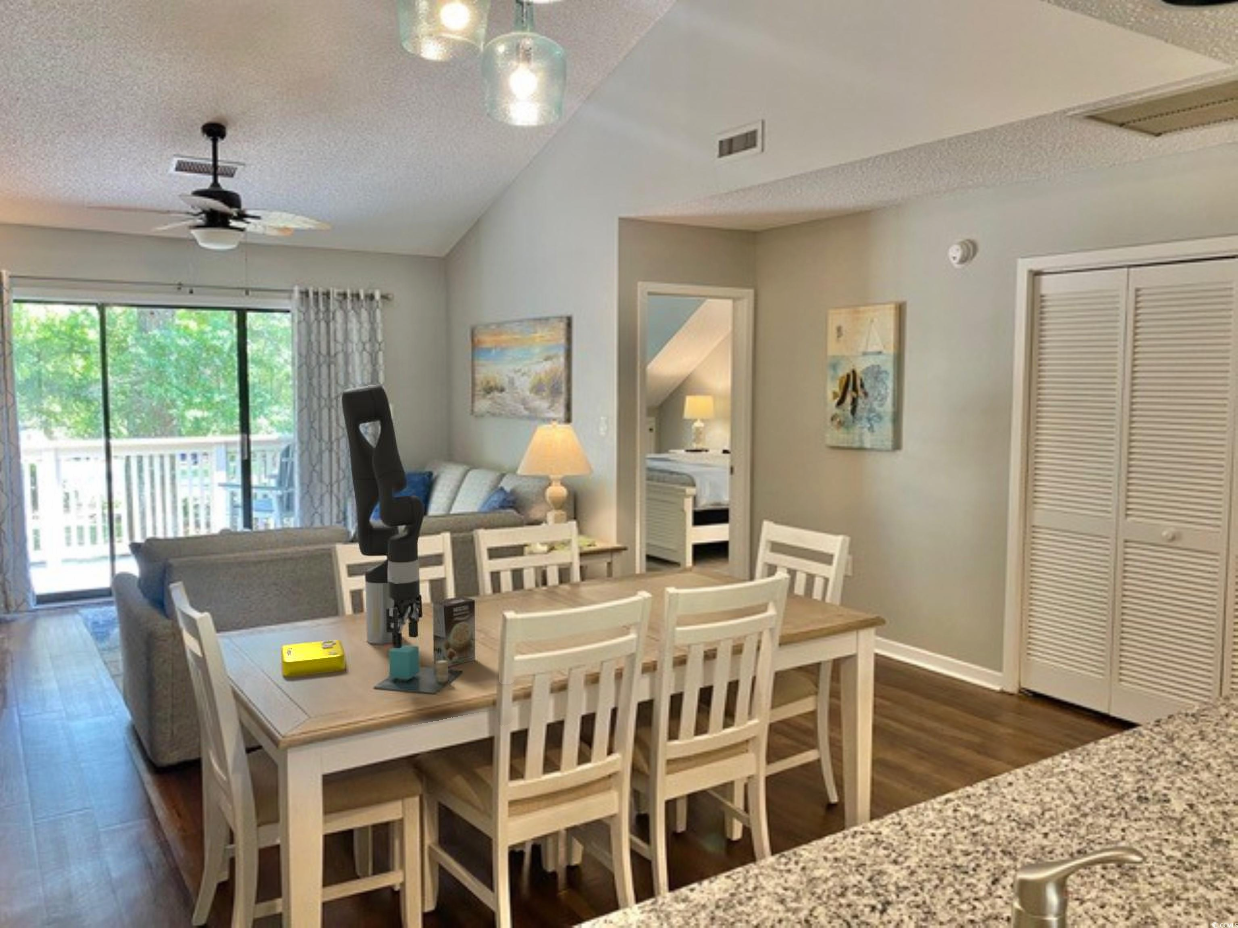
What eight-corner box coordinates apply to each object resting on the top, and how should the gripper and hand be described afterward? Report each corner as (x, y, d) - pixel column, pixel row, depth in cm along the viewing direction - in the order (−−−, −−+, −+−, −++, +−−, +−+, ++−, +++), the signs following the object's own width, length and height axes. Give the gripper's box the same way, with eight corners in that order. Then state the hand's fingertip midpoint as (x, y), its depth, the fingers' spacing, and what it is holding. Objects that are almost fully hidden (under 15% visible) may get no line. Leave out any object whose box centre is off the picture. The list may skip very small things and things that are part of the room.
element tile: (281, 660, 239) (280, 643, 239) (340, 654, 245) (340, 636, 244) (282, 679, 225) (282, 660, 225) (345, 671, 231) (345, 653, 230)
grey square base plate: (405, 667, 233) (404, 640, 232) (463, 672, 229) (462, 645, 228) (373, 688, 218) (372, 659, 217) (435, 694, 214) (434, 665, 213)
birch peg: (439, 679, 223) (439, 659, 223) (449, 680, 223) (449, 660, 222) (434, 683, 221) (433, 663, 220) (445, 684, 220) (444, 664, 220)
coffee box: (446, 667, 233) (445, 606, 231) (432, 661, 237) (431, 601, 236) (476, 659, 239) (475, 599, 237) (462, 654, 244) (461, 595, 242)
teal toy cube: (400, 670, 227) (399, 644, 227) (419, 672, 226) (418, 646, 225) (389, 677, 222) (389, 650, 222) (409, 679, 221) (408, 652, 220)
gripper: (403, 570, 229) (404, 632, 231) (375, 583, 216) (377, 650, 218) (430, 571, 228) (432, 634, 230) (404, 585, 214) (406, 652, 216)
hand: (405, 642), depth 224 cm, fingers open, 8 cm apart
